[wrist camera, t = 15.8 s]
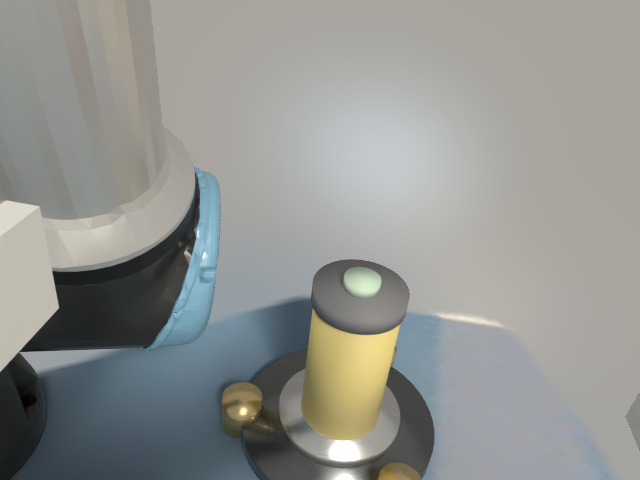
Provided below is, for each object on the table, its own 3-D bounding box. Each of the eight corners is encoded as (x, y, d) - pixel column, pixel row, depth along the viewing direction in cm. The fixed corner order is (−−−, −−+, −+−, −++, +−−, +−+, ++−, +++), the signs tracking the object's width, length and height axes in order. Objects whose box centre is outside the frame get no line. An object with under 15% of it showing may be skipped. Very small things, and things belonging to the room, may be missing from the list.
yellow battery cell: (282, 416, 43) (295, 283, 36) (323, 365, 48) (341, 240, 41) (358, 457, 40) (388, 323, 34) (393, 399, 46) (425, 272, 39)
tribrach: (194, 446, 43) (193, 421, 41) (306, 326, 56) (309, 303, 55) (392, 566, 36) (400, 541, 35) (464, 398, 50) (473, 375, 48)
